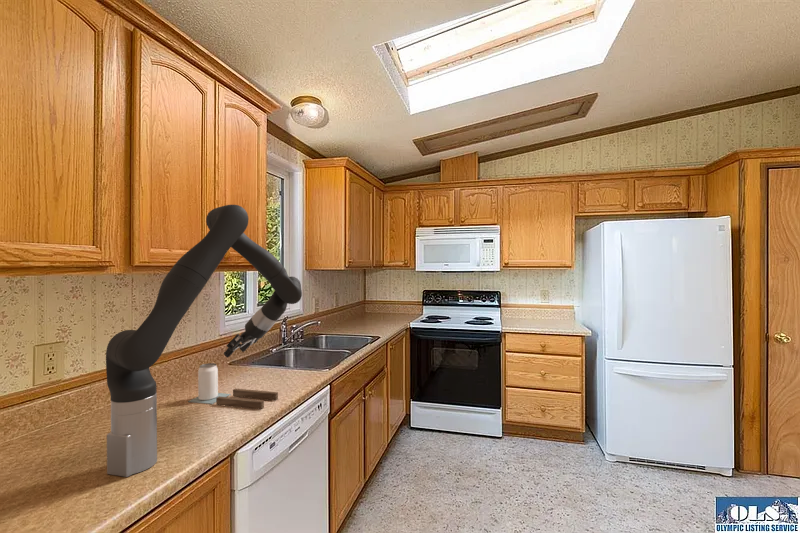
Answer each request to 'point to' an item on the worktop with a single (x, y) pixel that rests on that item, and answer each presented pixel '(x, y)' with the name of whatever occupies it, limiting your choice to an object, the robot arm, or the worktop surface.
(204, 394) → the can
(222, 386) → the worktop surface
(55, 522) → the worktop surface
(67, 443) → the worktop surface
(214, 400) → the pad
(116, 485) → the worktop surface
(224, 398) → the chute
